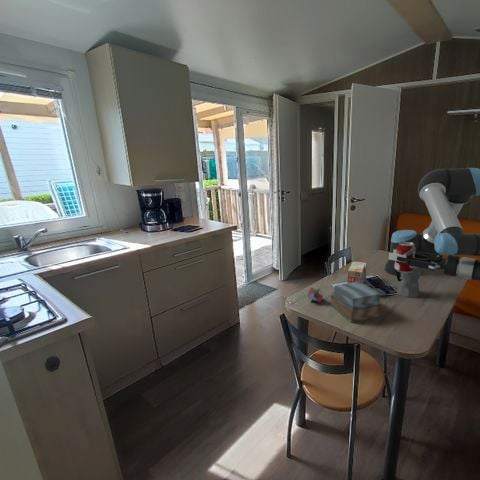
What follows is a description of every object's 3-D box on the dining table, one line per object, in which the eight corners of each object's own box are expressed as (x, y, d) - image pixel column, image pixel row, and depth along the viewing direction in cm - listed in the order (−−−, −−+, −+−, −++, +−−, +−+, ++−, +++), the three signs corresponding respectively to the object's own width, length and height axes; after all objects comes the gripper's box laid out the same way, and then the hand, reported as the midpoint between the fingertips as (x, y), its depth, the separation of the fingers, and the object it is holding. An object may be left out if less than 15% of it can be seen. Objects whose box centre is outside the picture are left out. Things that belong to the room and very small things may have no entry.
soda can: (395, 273, 119) (398, 245, 116) (393, 267, 125) (396, 240, 122) (414, 274, 117) (418, 246, 114) (410, 268, 123) (414, 241, 120)
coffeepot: (410, 287, 144) (415, 253, 139) (427, 295, 136) (432, 259, 131) (385, 292, 140) (389, 257, 135) (401, 301, 132) (405, 264, 127)
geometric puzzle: (329, 298, 133) (320, 282, 134) (321, 303, 128) (312, 287, 130) (318, 302, 138) (309, 287, 139) (310, 308, 133) (301, 292, 135)
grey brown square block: (358, 299, 134) (360, 280, 132) (382, 315, 120) (384, 294, 118) (330, 305, 131) (331, 285, 128) (351, 322, 117) (352, 300, 114)
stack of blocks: (353, 277, 159) (355, 256, 156) (365, 278, 156) (367, 257, 153) (346, 293, 142) (348, 269, 138) (360, 295, 139) (362, 271, 135)
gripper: (452, 283, 101) (383, 268, 117) (461, 269, 113) (397, 256, 129) (456, 264, 99) (384, 251, 115) (464, 251, 111) (398, 241, 127)
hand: (391, 254), depth 122 cm, fingers closed on soda can, 5 cm apart
